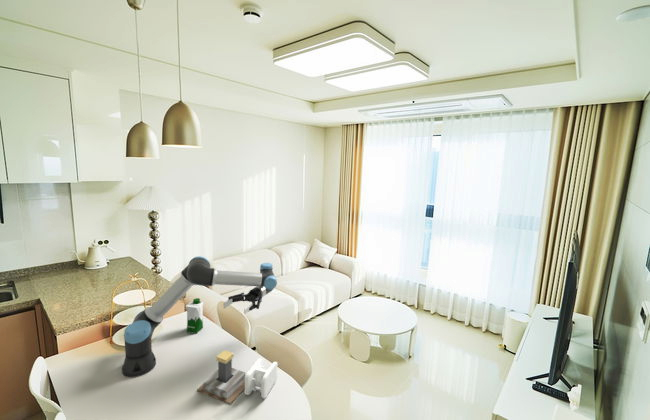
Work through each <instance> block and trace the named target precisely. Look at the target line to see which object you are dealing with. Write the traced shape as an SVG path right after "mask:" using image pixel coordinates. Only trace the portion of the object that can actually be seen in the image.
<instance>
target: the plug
mask: <svg viewBox="0 0 650 420" xmlns="http://www.w3.org/2000/svg"><path fill="white" fill-rule="evenodd" d="M234 356H235V355H234V353H233V352H230V351H228V350H223V351H222V352H220V353H219V354H218V355H217V356H216V357H215V359H216V362H218V363H217V364H218V365H217V366H218V367H217V370H218V381H221V382H224V383H227V382H228V381H229V380H230V379H231V378H232V368H233V366H232V364H233V363H232V362H233V360H232V359H233V358H234Z"/></svg>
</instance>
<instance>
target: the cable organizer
mask: <svg viewBox="0 0 650 420" xmlns="http://www.w3.org/2000/svg"><path fill="white" fill-rule="evenodd" d="M265 367H266V366H264V359H263V358H260V357H259V358H258V359H257V360H256V361H255V363H253V364H252V366H251V368H249V370H248V371H247V372H245V389H244V395H246V396H250V395H251V393H254V392H256V390H257V387H258V388H260V390H259V392H260V393H259V394H261V395H260V396H261V398H262V399H266V398H267V397H268V395H269V393H270V392H271V390H272V389H273V387H274V385H275V384H276V383H277V379H278V362H277V361H273V362H272V363H271V365H270V367H268V369H265ZM253 391H254V392H253Z"/></svg>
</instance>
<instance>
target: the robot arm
mask: <svg viewBox="0 0 650 420" xmlns="http://www.w3.org/2000/svg"><path fill="white" fill-rule="evenodd" d="M180 274H181V275H180V276H179V277H178V278H177V280H175V282H174V283H172V284H171V286H169V288H168V289H167V290H166V291H165V292H163V294H162V295H161V296H160V297H159V298H158V299H157V300H156V301H155V302H154V303H153V304H152V305H151V306H147V307H145V308H144V309H143V310H142V311H140V312H139V313H138V314H136V316H135V317H134V319H133V321H132V322H131V323H130V324H128V325H127V326H126V327H125V329H124V333H123V339H124V353H125V355H124V356H125V357H124V361H123V364H122V367H121V373H122V375H123V376H124V377H126V378H136V377H140V376H143V375H145V374H147V373H149V372H151V371H152V370H153V369H154V368H155V366H156V365H157V358H156V356H155V355H154V352H153V349H152V348H153V347H152V346H153V345H152V337H153V334H154V331H155V329H156V328H157V327H158V326H159V325H160V324H161V323H162V322H163V321H164V316H165V315H166V314H168V311H170V310H171V309H172V307H174V305H175V304H177V303H178V301H180V299H181V298H182V297H184V295H185V294H186V293H187V292H188V291H189V290H190V289H191V288H192V287H193V286H202V287H213V286H215V285H221V286H240V287H241V286H243V287H245V286H246V287H253V288H251V289H250V290H249V291H248V293H246V294H245V292H241V293H238V294H234V295H231V296H228V298H227V299H228V300H226V301H225V302H224V303H223V309H226V308H228V307H229V306H231V305H232V304H233V303H237V302H249V303H251V304H249V305H247V307H245V308H244V311H243V314H244V315H247V314H248V313H249V312H250V311H253V310H255V309H256V310H258V309H260V306H261V303H262V302H263V299H262V298H264V297H266V295H268V294H269V293H271V292H272V291H273V290H274V289H275V288H276V286H277V284H278V281H277V277H276V276H275V274H274V271H273V264H272V263H271V262H263V263H261V264H260V266H259V272H250V271H249V272H247V271H246V272H245V271H231V270H217V269H216V268H213V267H211V263H210V261H209V260H208V259H207V257H205V256H202V255H200V256H195V257H193V258H192V259H190V261H189V262H188V265H186V267H184V269H182V271H181V272H180Z"/></svg>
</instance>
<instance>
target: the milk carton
mask: <svg viewBox="0 0 650 420" xmlns="http://www.w3.org/2000/svg"><path fill="white" fill-rule="evenodd" d="M185 308H186V309H185V310H186V315H187V316H186V318H187V319H186V321H187V322H186V323H187V324H186V333H191V334H198V333H199V332H201V330H202V329H203V328H204V321H203V319H204V316H203V315H204V313H203V312H204V311H203V308H204V301H201V298H198V297H197V298H196V297H195V298H194V299H192V300H191V302H189V303H187V304H186V305H185Z"/></svg>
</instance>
